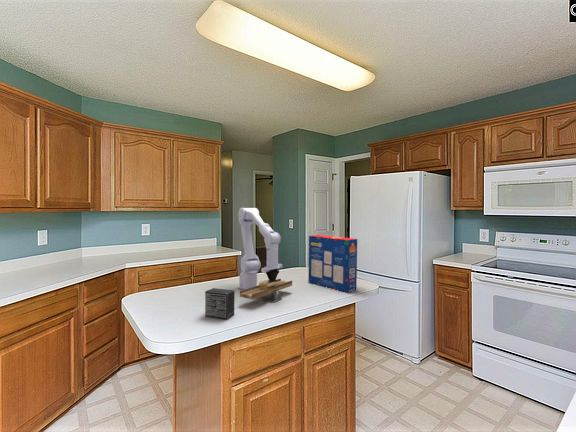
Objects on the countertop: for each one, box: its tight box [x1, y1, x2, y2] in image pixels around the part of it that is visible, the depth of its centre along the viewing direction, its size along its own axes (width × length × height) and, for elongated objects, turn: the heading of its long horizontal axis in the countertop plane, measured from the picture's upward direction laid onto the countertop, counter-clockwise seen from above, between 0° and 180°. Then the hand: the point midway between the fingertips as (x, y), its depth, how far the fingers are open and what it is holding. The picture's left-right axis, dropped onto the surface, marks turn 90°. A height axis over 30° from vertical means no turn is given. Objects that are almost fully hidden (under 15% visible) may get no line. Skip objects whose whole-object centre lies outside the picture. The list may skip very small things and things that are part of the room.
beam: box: [239, 278, 293, 301], centre depth 147 cm, size 8×31×2 cm, turn 146°
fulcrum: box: [256, 290, 283, 304], centre depth 147 cm, size 12×7×5 cm, turn 56°
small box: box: [204, 287, 236, 321], centre depth 124 cm, size 11×6×10 cm, turn 71°
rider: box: [258, 279, 275, 290], centre depth 146 cm, size 5×6×3 cm
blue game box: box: [307, 234, 358, 294], centre depth 170 cm, size 28×8×28 cm, turn 43°
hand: (272, 284), depth 150 cm, fingers closed
